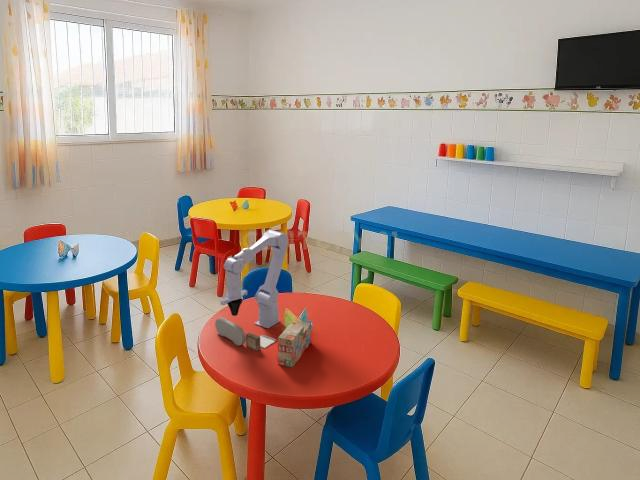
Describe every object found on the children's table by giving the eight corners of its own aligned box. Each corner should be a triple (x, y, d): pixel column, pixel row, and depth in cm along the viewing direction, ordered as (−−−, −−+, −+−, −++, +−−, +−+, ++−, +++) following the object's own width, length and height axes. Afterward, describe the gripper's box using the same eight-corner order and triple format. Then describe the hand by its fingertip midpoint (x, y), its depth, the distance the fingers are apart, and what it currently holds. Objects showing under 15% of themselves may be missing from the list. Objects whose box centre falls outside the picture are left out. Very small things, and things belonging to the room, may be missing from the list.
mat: (261, 335, 205) (261, 334, 204) (276, 341, 200) (276, 339, 200) (249, 343, 198) (249, 341, 198) (264, 348, 194) (264, 347, 194)
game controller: (246, 346, 195) (246, 329, 193) (242, 348, 194) (241, 330, 191) (219, 330, 208) (219, 314, 206) (215, 332, 206) (214, 315, 204)
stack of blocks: (297, 340, 202) (297, 314, 199) (310, 342, 200) (311, 316, 197) (277, 364, 183) (277, 336, 179) (292, 367, 181) (293, 339, 177)
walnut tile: (249, 345, 196) (249, 332, 195) (260, 349, 193) (260, 336, 192) (246, 347, 195) (245, 334, 193) (257, 351, 192) (257, 338, 190)
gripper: (238, 278, 204) (239, 306, 208) (214, 288, 192) (215, 318, 196) (250, 282, 201) (251, 310, 204) (227, 292, 189) (228, 322, 193)
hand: (234, 314), depth 200 cm, fingers closed
